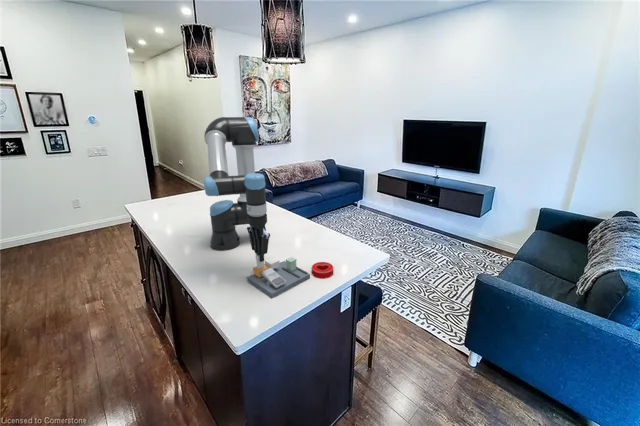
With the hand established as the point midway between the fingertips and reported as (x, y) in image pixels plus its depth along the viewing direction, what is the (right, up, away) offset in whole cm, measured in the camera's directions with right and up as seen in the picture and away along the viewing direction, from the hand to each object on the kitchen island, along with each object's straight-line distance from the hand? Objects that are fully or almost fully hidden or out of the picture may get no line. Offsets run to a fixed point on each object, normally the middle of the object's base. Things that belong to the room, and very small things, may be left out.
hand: (260, 267), depth 122 cm
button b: (+4, -1, +5) cm, 6 cm away
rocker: (+6, -3, -5) cm, 9 cm away
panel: (+7, -6, +2) cm, 9 cm away
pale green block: (+12, -2, +6) cm, 14 cm away
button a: (0, -3, +1) cm, 3 cm away
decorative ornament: (+26, -4, +8) cm, 27 cm away
